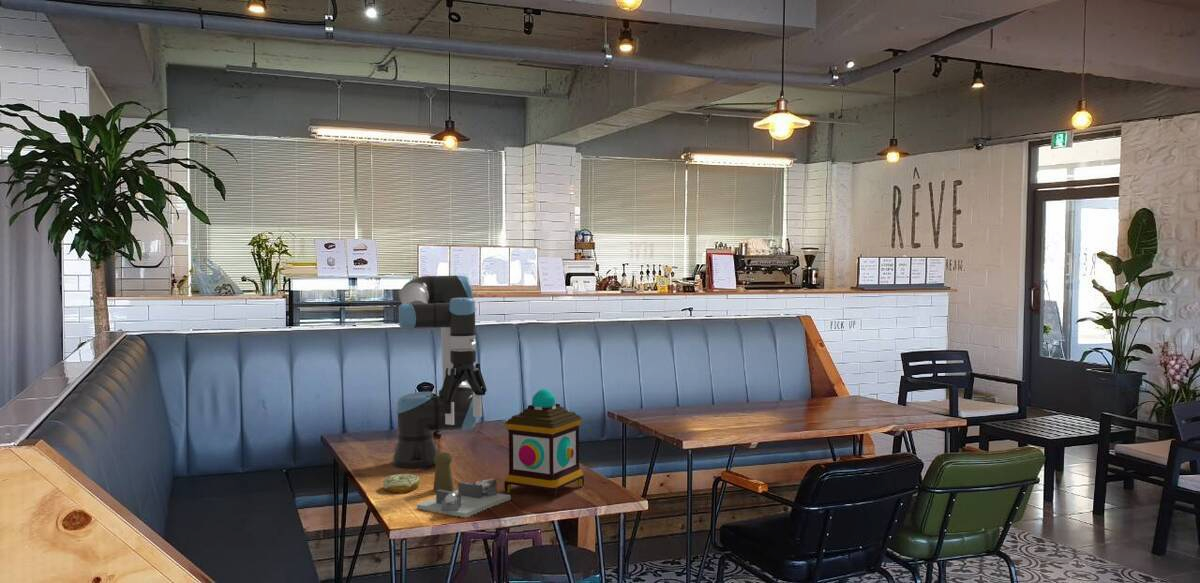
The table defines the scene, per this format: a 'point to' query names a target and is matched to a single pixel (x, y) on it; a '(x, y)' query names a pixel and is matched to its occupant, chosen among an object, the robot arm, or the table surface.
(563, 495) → the table surface
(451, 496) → the shaft
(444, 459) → the cork
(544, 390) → the decorative lantern
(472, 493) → the rig
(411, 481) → the decorated donut
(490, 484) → the shaft
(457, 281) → the robot arm
